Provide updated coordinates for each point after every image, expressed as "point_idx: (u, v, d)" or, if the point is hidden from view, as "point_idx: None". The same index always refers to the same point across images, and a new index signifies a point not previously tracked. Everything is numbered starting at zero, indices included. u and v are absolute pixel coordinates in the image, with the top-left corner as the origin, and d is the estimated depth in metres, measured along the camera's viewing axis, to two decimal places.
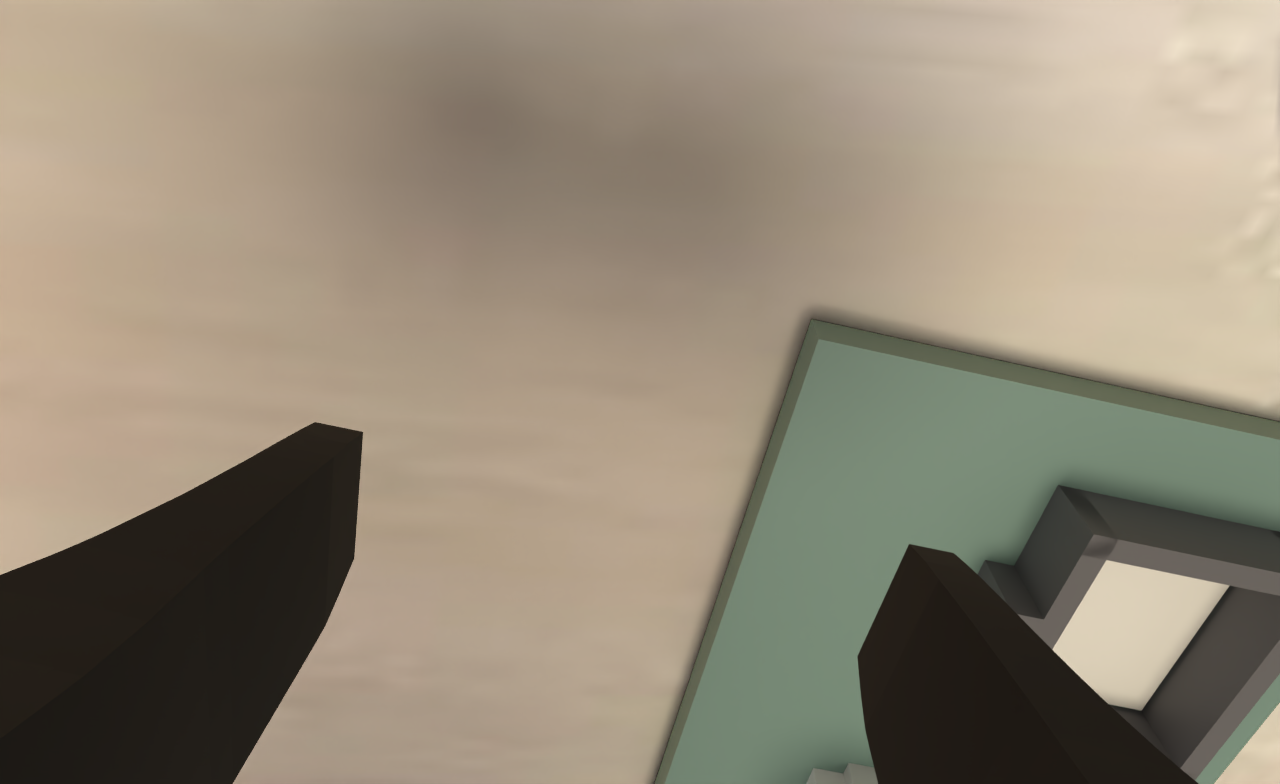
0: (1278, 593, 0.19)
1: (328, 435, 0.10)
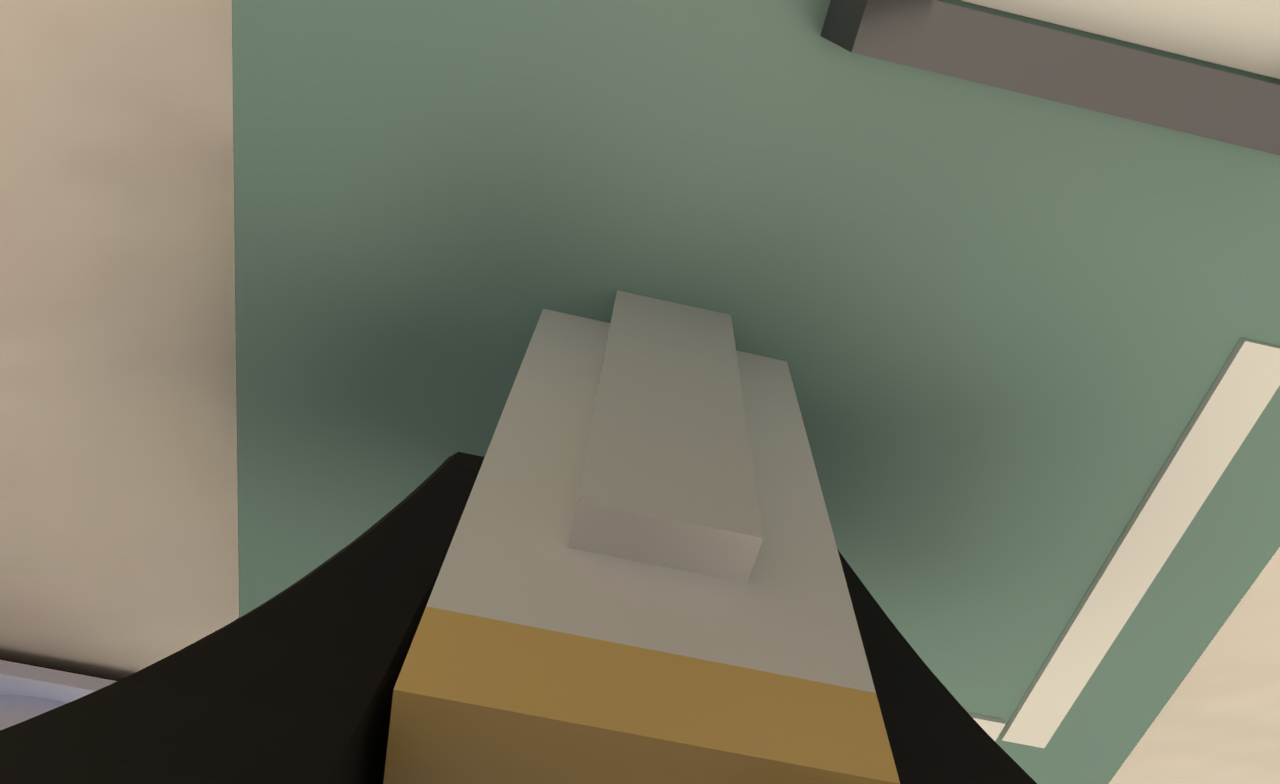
0: None
1: (477, 465, 0.10)
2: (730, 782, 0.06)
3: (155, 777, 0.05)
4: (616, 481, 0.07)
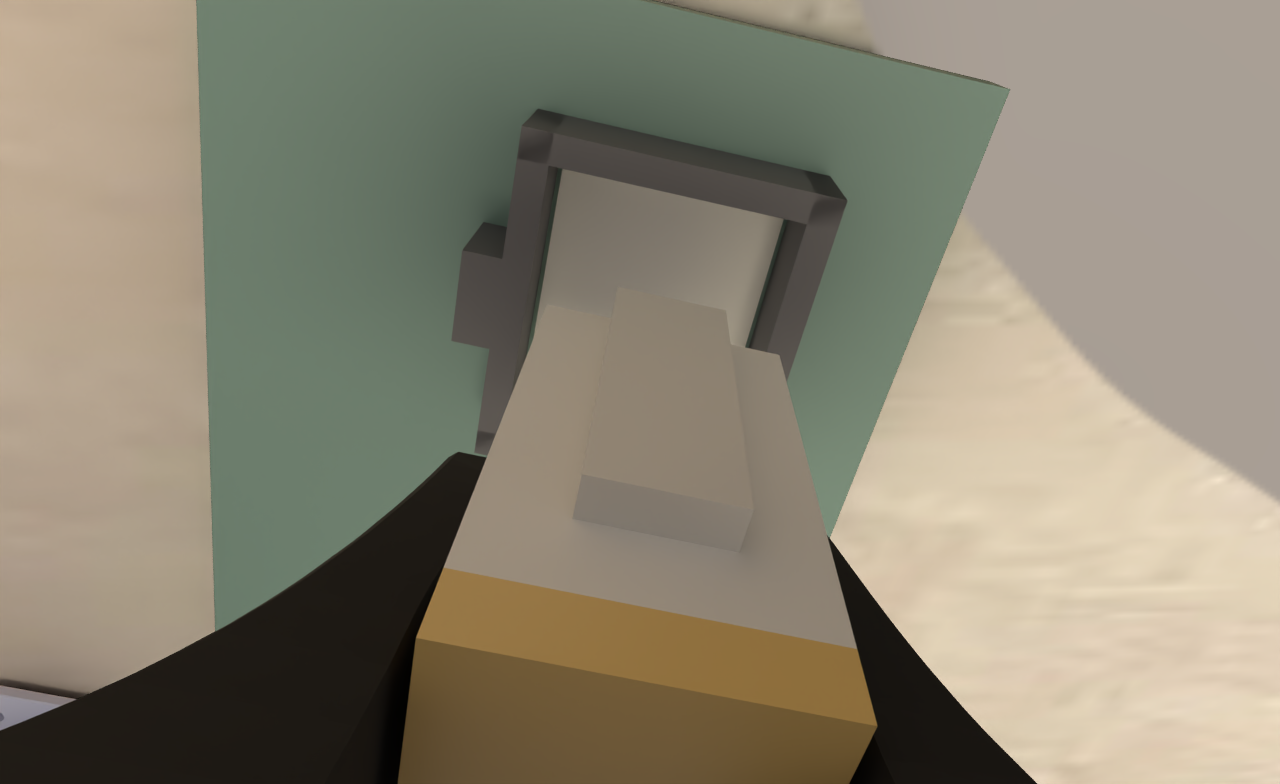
0: (767, 212, 0.16)
1: (477, 465, 0.10)
2: (722, 726, 0.06)
3: (153, 775, 0.05)
4: (617, 458, 0.08)
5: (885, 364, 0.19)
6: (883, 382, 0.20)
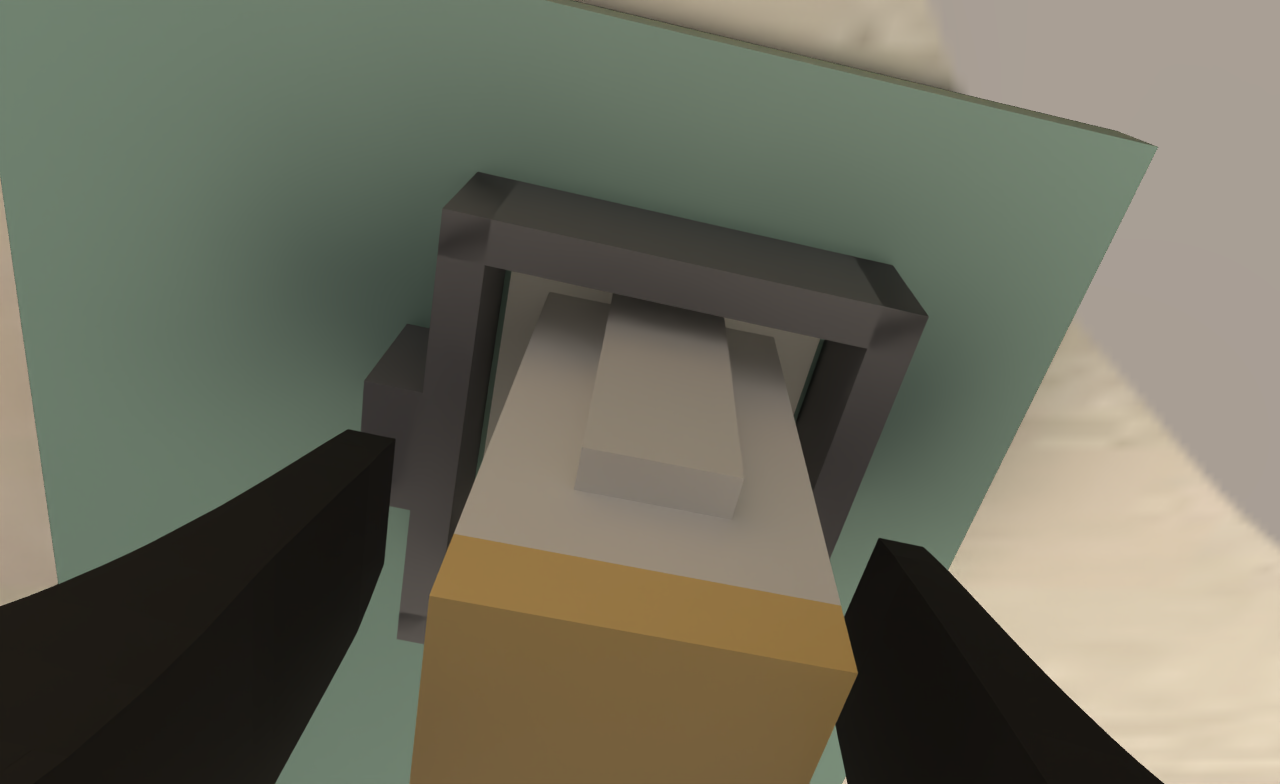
0: (808, 331, 0.11)
1: (362, 442, 0.10)
2: (714, 675, 0.07)
3: None
4: (615, 432, 0.08)
5: (959, 508, 0.14)
6: (955, 531, 0.14)
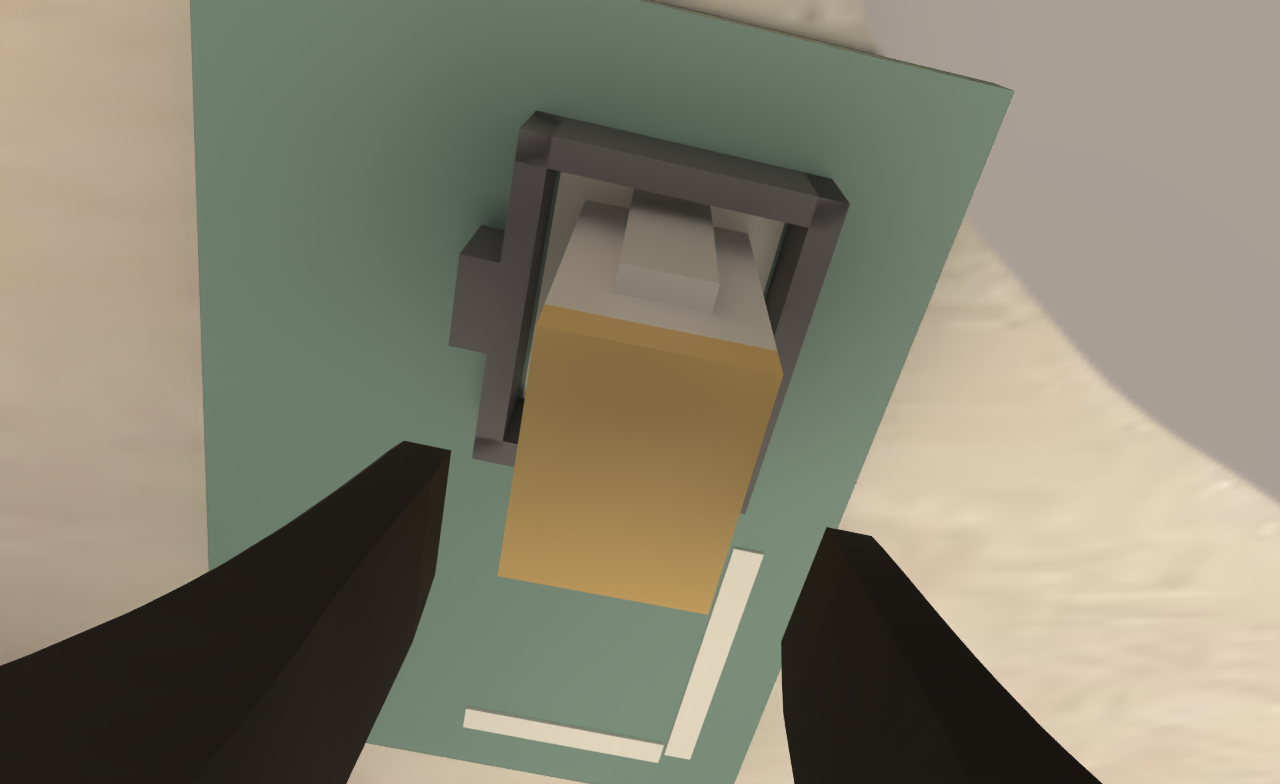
0: (768, 215, 0.16)
1: (420, 453, 0.10)
2: (700, 378, 0.12)
3: (28, 753, 0.05)
4: (639, 258, 0.13)
5: (887, 369, 0.19)
6: (885, 387, 0.19)
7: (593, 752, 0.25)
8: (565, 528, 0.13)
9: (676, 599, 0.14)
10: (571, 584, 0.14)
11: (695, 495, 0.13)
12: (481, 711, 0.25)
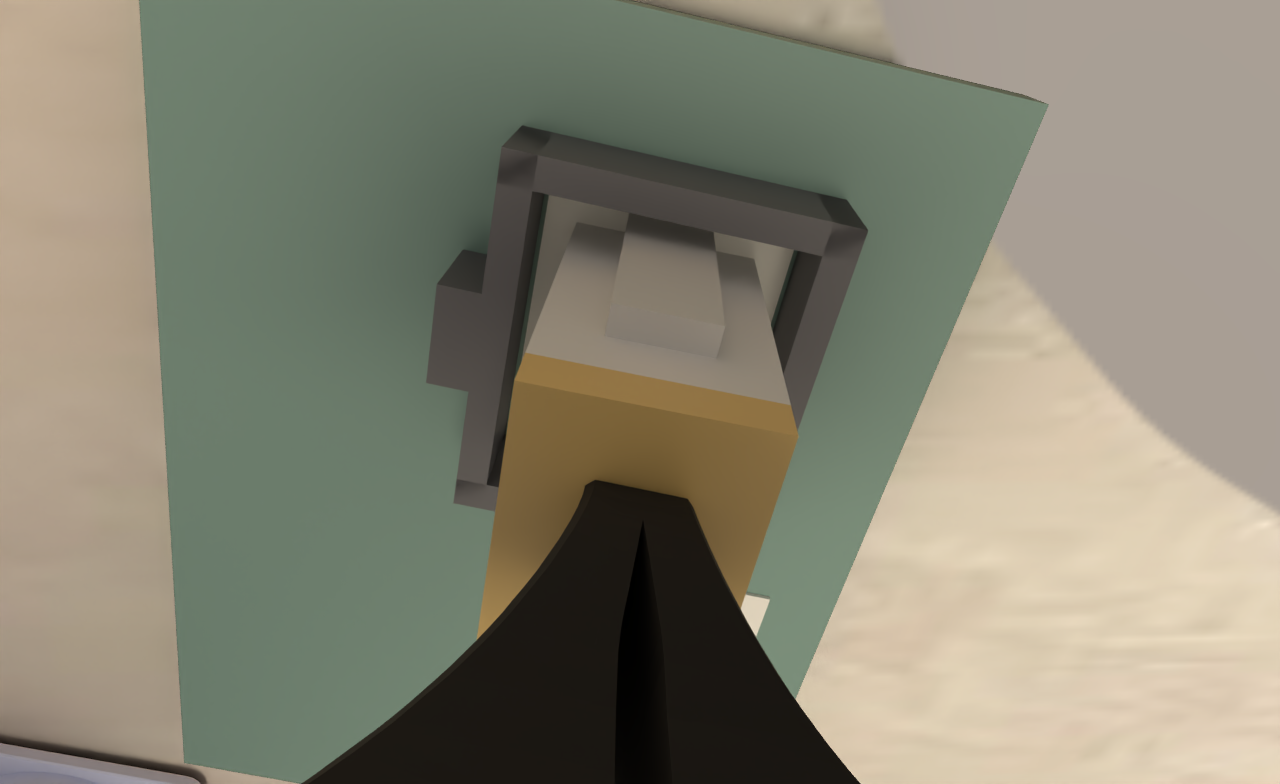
0: (777, 242, 0.14)
1: (620, 494, 0.10)
2: (702, 439, 0.10)
3: None
4: (634, 297, 0.12)
5: (905, 404, 0.18)
6: (902, 423, 0.18)
7: None
8: None
9: None
10: None
11: None
12: None
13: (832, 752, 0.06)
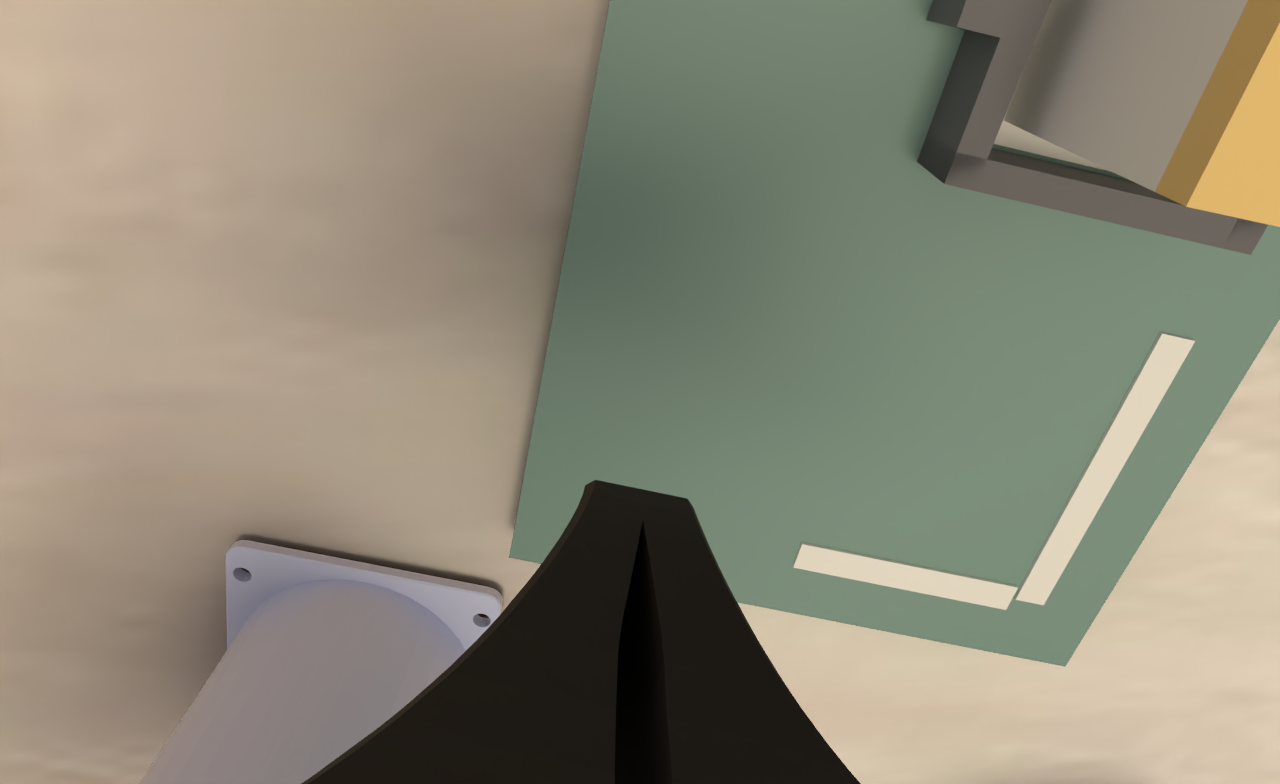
0: None
1: (620, 494, 0.10)
2: None
3: None
4: None
5: None
6: None
7: (933, 598, 0.23)
8: None
9: None
10: (1277, 217, 0.11)
11: None
12: (816, 548, 0.22)
13: (832, 752, 0.06)
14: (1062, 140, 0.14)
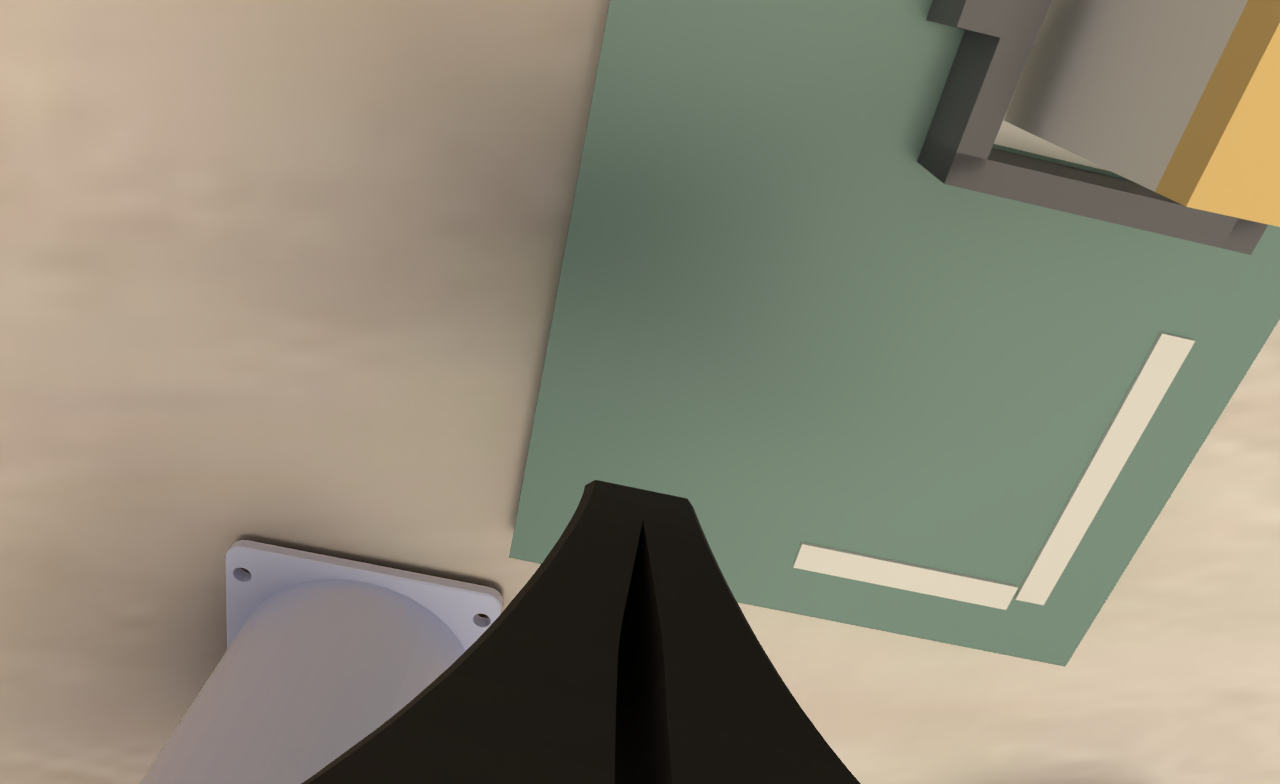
0: None
1: (620, 494, 0.10)
2: None
3: None
4: None
5: None
6: None
7: (933, 598, 0.23)
8: None
9: None
10: (1277, 217, 0.11)
11: None
12: (816, 548, 0.22)
13: (832, 752, 0.06)
14: (1062, 140, 0.14)
